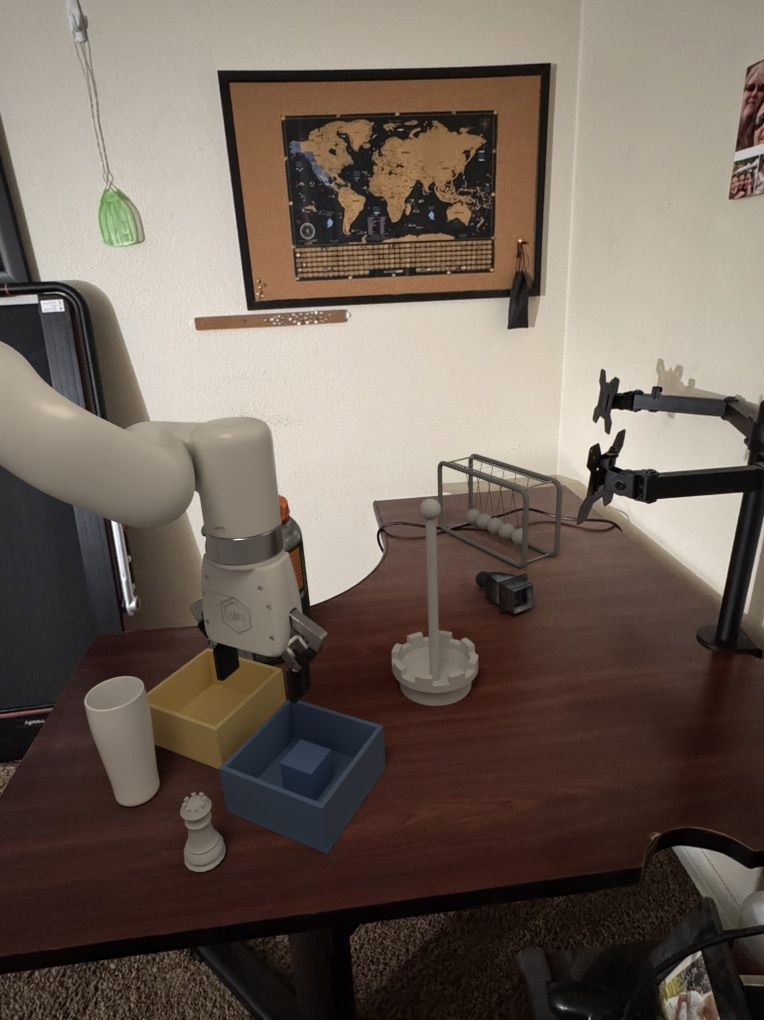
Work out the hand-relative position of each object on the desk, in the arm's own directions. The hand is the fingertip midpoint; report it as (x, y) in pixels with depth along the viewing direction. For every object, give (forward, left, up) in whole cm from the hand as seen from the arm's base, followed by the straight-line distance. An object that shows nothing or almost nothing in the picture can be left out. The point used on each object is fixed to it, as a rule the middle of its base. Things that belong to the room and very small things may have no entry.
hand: (263, 684), depth 69 cm
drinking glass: (-6, +18, -18) cm, 26 cm away
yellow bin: (+9, +17, -18) cm, 26 cm away
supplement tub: (+29, +23, -18) cm, 41 cm away
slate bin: (+4, -2, -18) cm, 18 cm away
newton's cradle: (+84, 0, -18) cm, 86 cm away
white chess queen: (-9, +3, -18) cm, 20 cm away
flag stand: (+30, -8, -18) cm, 35 cm away
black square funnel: (+58, -10, -18) cm, 61 cm away
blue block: (+4, -2, -17) cm, 17 cm away
